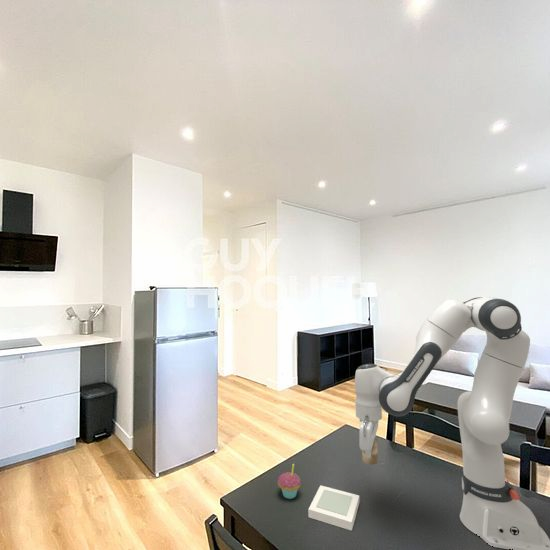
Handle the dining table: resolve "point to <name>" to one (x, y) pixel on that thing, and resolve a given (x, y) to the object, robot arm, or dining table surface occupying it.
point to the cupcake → (289, 483)
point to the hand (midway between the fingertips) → (369, 452)
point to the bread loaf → (374, 454)
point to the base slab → (334, 507)
